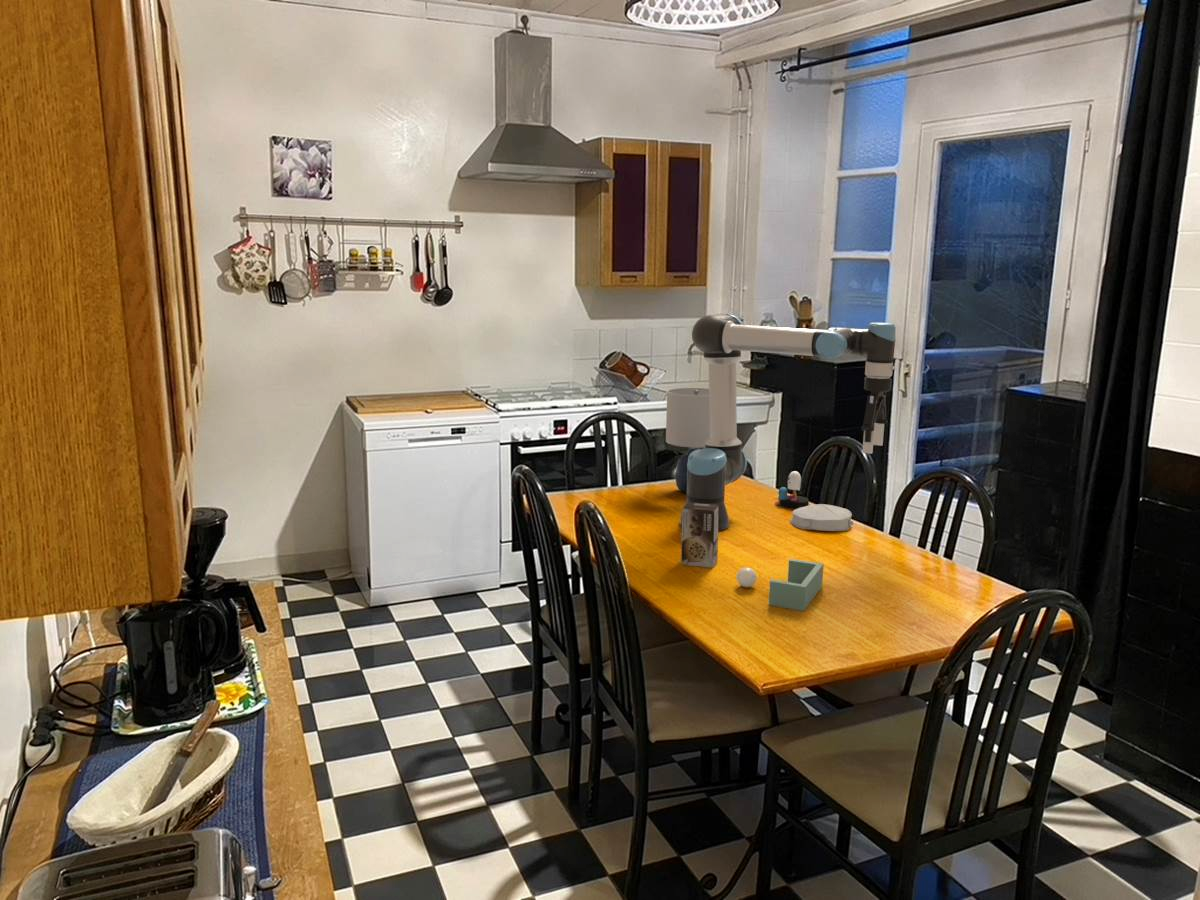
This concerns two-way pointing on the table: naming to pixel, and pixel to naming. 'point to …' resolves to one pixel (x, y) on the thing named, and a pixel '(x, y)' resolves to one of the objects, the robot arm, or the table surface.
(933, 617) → the table surface
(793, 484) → the figurine
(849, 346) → the robot arm
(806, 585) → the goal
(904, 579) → the table surface
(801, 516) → the food container
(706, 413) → the lamp
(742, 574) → the ball
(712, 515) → the coffee box
